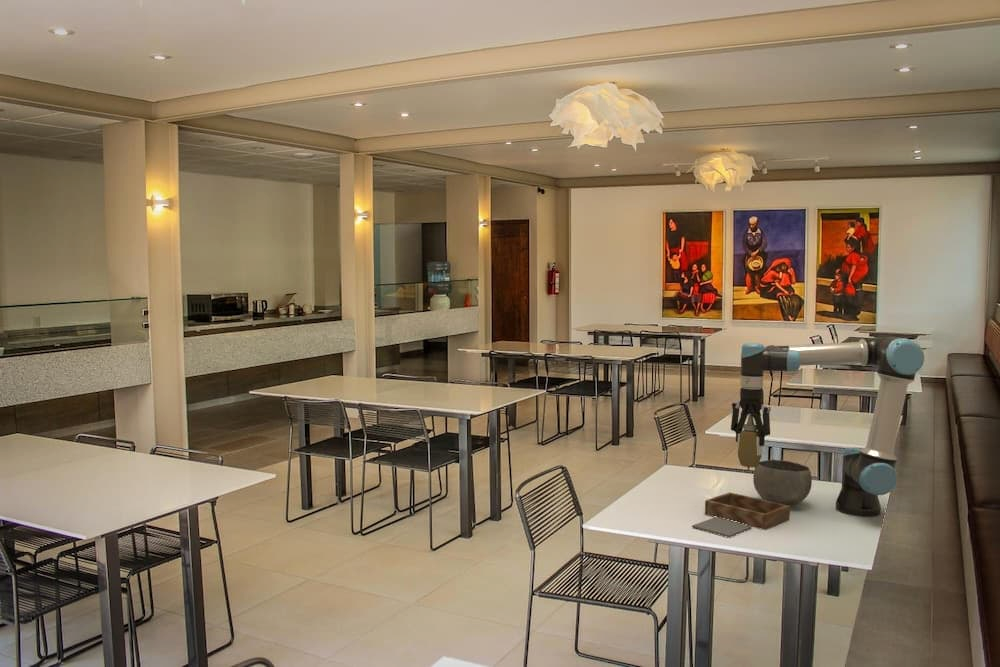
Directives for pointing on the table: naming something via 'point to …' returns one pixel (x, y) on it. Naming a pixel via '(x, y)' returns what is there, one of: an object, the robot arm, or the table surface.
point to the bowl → (782, 481)
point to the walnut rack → (747, 510)
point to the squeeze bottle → (748, 445)
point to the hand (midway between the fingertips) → (749, 453)
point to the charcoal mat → (721, 527)
